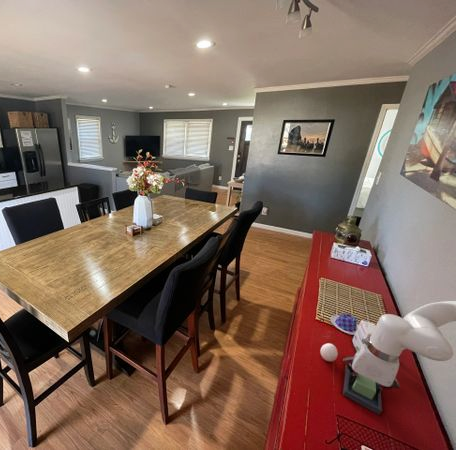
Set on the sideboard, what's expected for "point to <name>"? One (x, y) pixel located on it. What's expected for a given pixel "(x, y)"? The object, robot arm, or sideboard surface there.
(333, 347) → the egg
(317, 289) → the sideboard surface
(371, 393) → the green block
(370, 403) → the holder
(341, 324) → the patterned bowl
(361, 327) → the ink box
